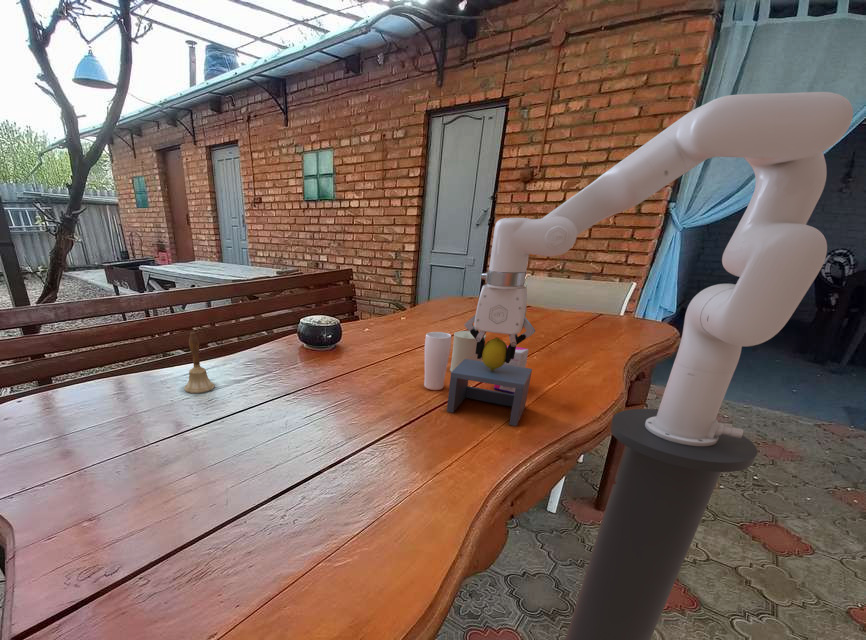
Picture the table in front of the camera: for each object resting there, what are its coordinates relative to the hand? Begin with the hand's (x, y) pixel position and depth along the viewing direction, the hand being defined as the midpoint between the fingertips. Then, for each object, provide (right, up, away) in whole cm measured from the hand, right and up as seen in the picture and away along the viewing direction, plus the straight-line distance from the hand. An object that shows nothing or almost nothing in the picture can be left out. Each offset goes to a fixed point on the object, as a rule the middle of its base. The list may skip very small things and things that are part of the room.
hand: (493, 358), depth 99 cm
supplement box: (+11, -7, +18) cm, 22 cm away
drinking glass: (-9, -6, +19) cm, 22 cm away
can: (+3, -1, +31) cm, 32 cm away
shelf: (0, -12, +5) cm, 13 cm away
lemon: (0, -3, +1) cm, 3 cm away
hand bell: (-75, -6, +21) cm, 78 cm away
